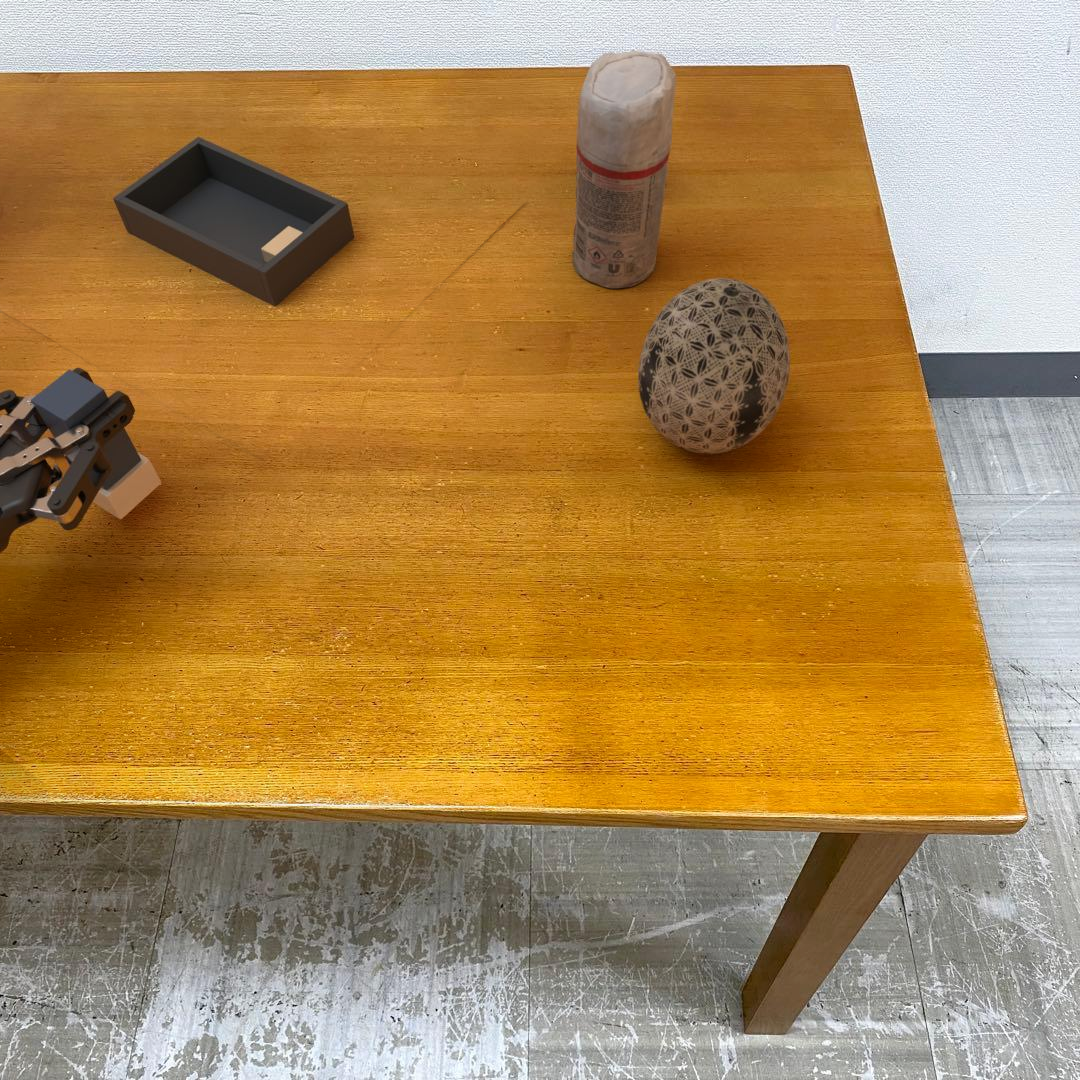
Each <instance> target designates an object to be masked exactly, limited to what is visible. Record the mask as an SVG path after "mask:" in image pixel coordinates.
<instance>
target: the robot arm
mask: <svg viewBox="0 0 1080 1080" xmlns="http://www.w3.org/2000/svg"><path fill="white" fill-rule="evenodd" d="M72 371H73V372H75V373H77V374H79V375H80V376H82V377H84V378H85V379H87V380H89V381H91V382H92V383H94V381H93V379H92V377H91V375H90V373H89V372H88V371H86V370H84V369H83V368H81V367H76V368H74V369H72ZM94 384H95V383H94ZM36 395H37V394H28V395H26V396H19V395H17V393H16V392H15V391H14V390H13V389H7V390H3V391H1V392H0V412H1V411H3V410H4V411H5V412H6V413H5V414H4V413H3V414H1V415H0V554H2V553H3V552H4V551H5V550H6V549H7V548H8V546H9V543H10V539H11V536H12V535H13V533H14V532H15V531H16V530H17V529H20V528H21V527H23V526H25V525H27V524H31V523H33V522H35V521H36V520H37V519H38V518H40V519H46V520H50V521H56V522H58V523H59V525H60V527H61V528H62V529H63V530H65V531H72V530H74V529H76V528H77V527H79V525H80V524H81V522H82V520H83V519H84V517H85V515H86V513H87V512H88V510H89V509H90V507H91V505H92V504H93V500H94V498H95V497H96V495H97V493H98V492H99V490H100V488H101V487H102V485H103V483H104V482H105V480H106V478H107V477H108V475H109V473H110V472H111V470H112V466H111V465H110V463H109V461H108V459H107V458H106V456H105V454H104V452H103V446H104V445H105V444H106V443H107V442H108V441H109V440H110V439H112V438H113V437H114V436H115V435H116V434H117V433H119V432H120V431H121V430H122V429H123V428H126V427H127V426H128V425H129V424H131V423H132V420H133V419H134V415H135V413H136V409H135V407H134V405H133V402H132V400H131V398H130V396H129V395H128V394H126V393H124V392H123V391H121V390H117V391H114V392H113V393H112V394H110V396H108V399H107V400H105V401H104V402H103V403H102V404H100V405H99V406H98V407H97V408H96V409H94V410H93V411H92V412H91V413H90V414H88V415H87V416H86V417H85V418H84V419H82V420H81V423H82V424H81V425H77V426H75V427H73V428H71V429H70V430H68V431H66V432H65V433H63V434H61V435H59V436H58V437H56V438H54V437H49V436H47V437H43V435H44V434H45V433H46V432H47V431H48V430H49V429H48V427H47V426H46V424H45V422H44V421H43V419H42V418H41V416H40V414H39V413H38V411H37V410H36V408H35V406H34V405H33V403H32V402H31V399H32V398H34V397H35V396H36ZM42 437H43V438H42ZM77 445H78V447H79V449H77V450H75V451H74V452H72V453H70V454H69V455H67V456H65V453H66V452H67V451H68V450H70V449H72V448H74V447H75V446H77ZM47 459H50V460H51V461H52V463H53V468H52V467H51V466H50V464H49V462H48V461H47Z"/></svg>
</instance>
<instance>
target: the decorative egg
mask: <svg viewBox="0 0 1080 1080" xmlns="http://www.w3.org/2000/svg"><path fill="white" fill-rule="evenodd" d="M790 353H791V352H790V342H789V338H788V334H787V330H786V327H785V324H784V322H783V320H782V318H781V315H780V314H779V313H778V311H777V309H776V308H775V306H774V304H773V303H772V302H771V301H770V300H769V299H768V297H767V296H765V295H764V293H762V292H761V291H760V290H758V289H757V288H755V287H754V286H752V285H751V284H749V283H746V282H745V281H742V280H739V279H733V278H729V277H726V278H725V277H722V278H720V277H717V278H710V279H705V280H702V281H699V282H696V283H694V284H692V285H690V286H688V287H686V288H684V289H683V290H681V291H680V292H678V293H677V294H675V296H673V297H672V298H671V299H670V300H669V301H668V302H667V303H666V304H665V305H664V307H662V309H661V310H660V311H659V312H658V313H657V315H656V317H655V319H654V321H653V323H652V324H651V326H650V329H649V331H648V332H647V334H646V337H645V340H644V342H643V346H642V349H641V351H640V357H639V363H638V371H637V377H638V378H637V383H638V393H639V398H640V401H641V405H642V407H643V410H644V413H645V415H646V416H647V418H648V420H649V421H650V423H651V424H652V426H653V427H654V429H655V430H656V431H657V433H659V434H660V435H661V437H663V438H664V439H665V440H666V441H668V442H669V443H671V444H672V445H674V446H676V447H678V448H680V449H683V450H685V451H687V452H691V453H696V454H705V455H715V454H716V455H717V454H722V453H728V452H730V451H733V450H736V449H739V448H741V447H743V446H745V445H747V444H748V443H750V442H751V441H752V440H754V439H755V438H756V437H757V436H759V435H760V434H761V433H762V432H763V431H764V430H765V429H766V428H767V427H768V426H769V424H770V423H771V422H772V420H773V419H774V417H775V416H776V414H777V412H778V411H779V408H780V407H781V405H782V402H783V400H784V398H785V394H786V392H787V387H788V384H789V378H790V372H791V371H790V370H791V369H790V368H791V354H790Z"/></svg>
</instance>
